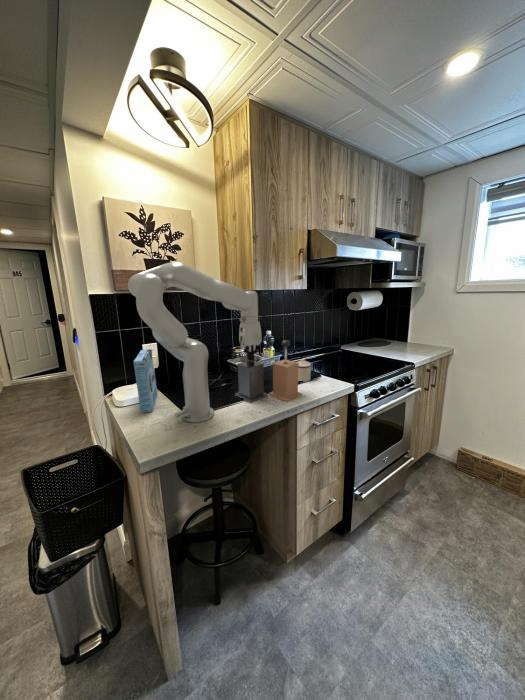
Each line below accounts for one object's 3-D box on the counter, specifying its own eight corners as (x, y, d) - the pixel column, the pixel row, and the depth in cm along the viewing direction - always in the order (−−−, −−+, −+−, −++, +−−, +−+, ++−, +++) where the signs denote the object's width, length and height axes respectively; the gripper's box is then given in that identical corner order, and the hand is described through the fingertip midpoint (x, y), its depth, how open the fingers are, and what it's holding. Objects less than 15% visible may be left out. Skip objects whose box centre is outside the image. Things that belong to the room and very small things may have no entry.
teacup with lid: (314, 380, 148) (315, 360, 145) (300, 383, 144) (301, 362, 141) (301, 374, 159) (301, 354, 156) (288, 376, 155) (288, 357, 152)
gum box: (152, 412, 115) (146, 360, 109) (139, 413, 114) (132, 361, 108) (157, 393, 134) (152, 348, 128) (146, 395, 132) (140, 349, 126)
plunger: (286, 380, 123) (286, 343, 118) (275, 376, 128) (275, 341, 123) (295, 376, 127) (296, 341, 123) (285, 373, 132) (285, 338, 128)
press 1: (250, 403, 122) (249, 369, 118) (233, 395, 131) (231, 363, 127) (267, 395, 130) (267, 363, 125) (250, 388, 138) (249, 358, 134)
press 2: (286, 402, 122) (286, 368, 118) (266, 394, 131) (266, 362, 127) (301, 395, 130) (302, 363, 126) (282, 388, 139) (282, 357, 134)
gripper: (241, 322, 113) (243, 364, 118) (267, 318, 123) (268, 357, 128) (230, 320, 118) (232, 360, 123) (256, 316, 128) (257, 354, 133)
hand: (250, 359), depth 125 cm, fingers closed
